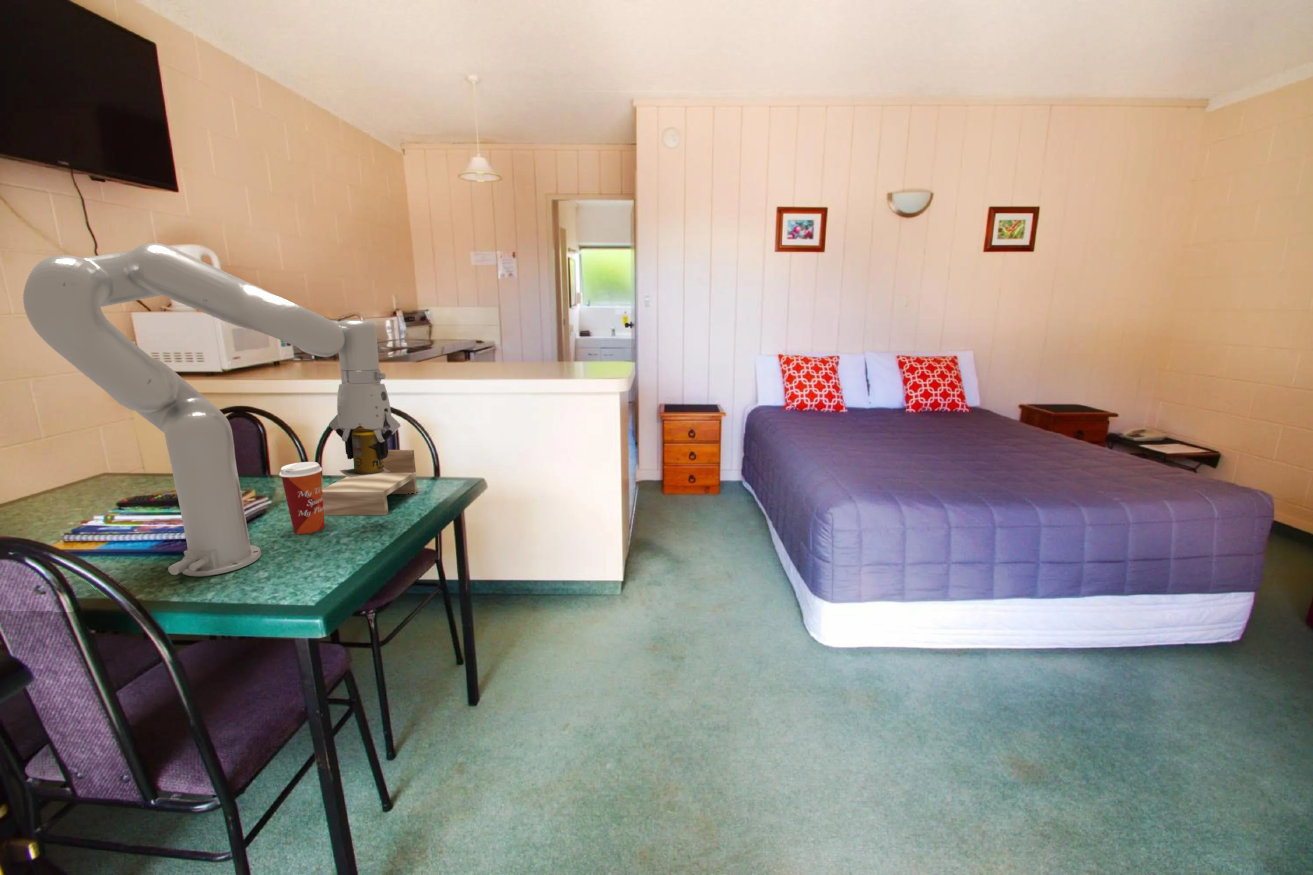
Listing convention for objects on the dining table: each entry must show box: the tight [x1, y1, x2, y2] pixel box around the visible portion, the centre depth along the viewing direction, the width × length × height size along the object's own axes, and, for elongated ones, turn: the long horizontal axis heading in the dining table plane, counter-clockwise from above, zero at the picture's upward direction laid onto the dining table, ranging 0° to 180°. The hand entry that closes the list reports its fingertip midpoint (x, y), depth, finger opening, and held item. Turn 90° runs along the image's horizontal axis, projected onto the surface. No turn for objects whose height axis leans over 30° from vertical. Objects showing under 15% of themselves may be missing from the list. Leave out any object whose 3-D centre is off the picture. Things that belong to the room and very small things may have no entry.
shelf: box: [322, 449, 419, 516], centre depth 145 cm, size 18×16×12 cm
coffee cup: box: [278, 461, 325, 535], centre depth 127 cm, size 8×8×15 cm
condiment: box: [339, 424, 390, 478], centre depth 126 cm, size 7×8×12 cm
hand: (367, 457), depth 126 cm, fingers closed on condiment, 6 cm apart
